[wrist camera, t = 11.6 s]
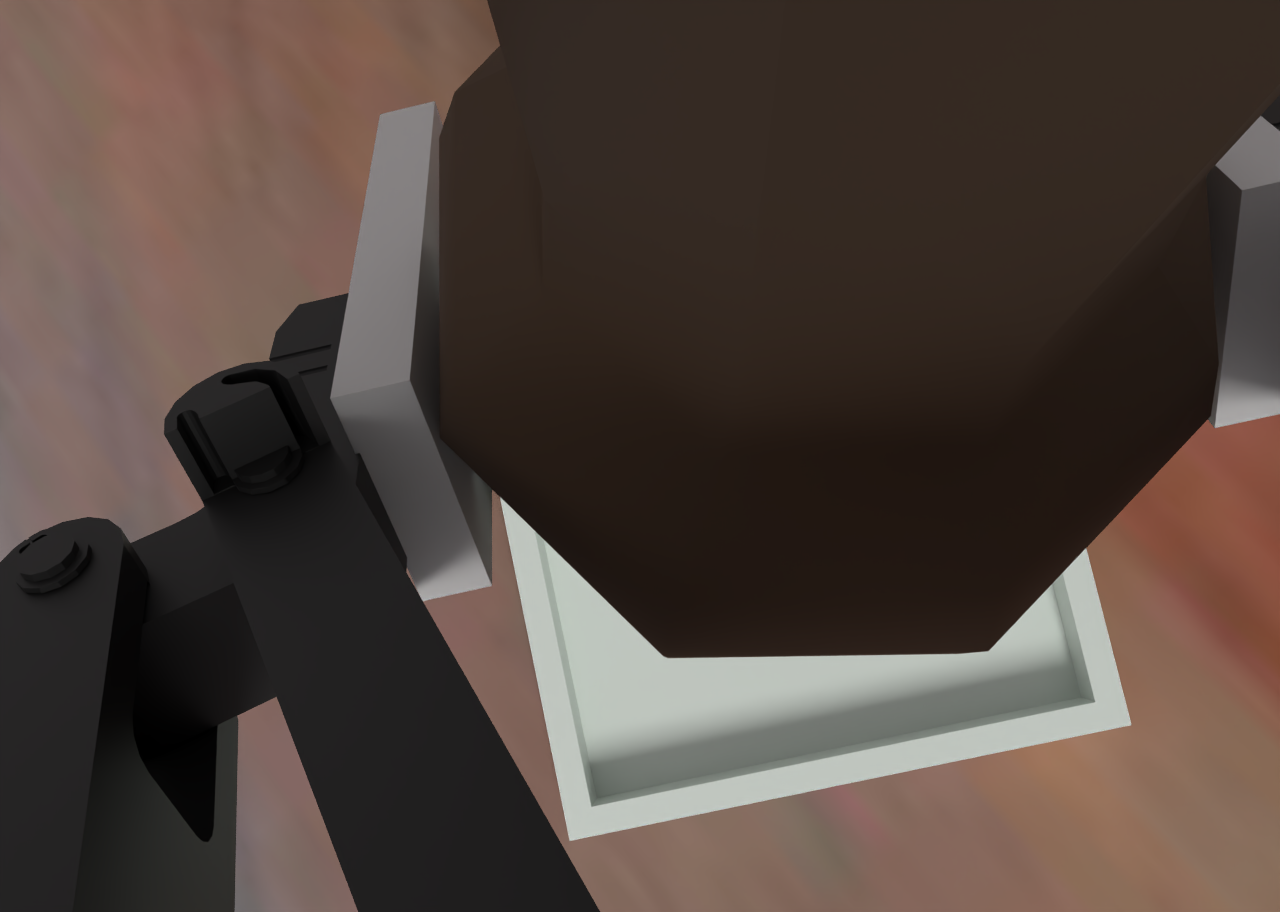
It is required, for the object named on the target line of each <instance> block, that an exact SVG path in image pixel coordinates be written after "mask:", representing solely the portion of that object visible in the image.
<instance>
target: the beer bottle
mask: <svg viewBox="0 0 1280 912" xmlns="http://www.w3.org/2000/svg"><path fill="white" fill-rule="evenodd" d="M487 1H488V4H489V8H490V11H491V15H492V18H493V22H494V25H495V28H496V32H497V35H498V39H499V42H500V46H499V47H498V48H497V49H496V50H495V51H494V52H493V53H492V54H491V55H490V56H489V57H488V59H487V60H486V61H485V62H484V63H483V64H482V65H481V66H480V67H479V68H478V69H477V70H476V71H475V72H474V73H473V74H472V75H471V76H470V77H469V78H468V79H467V80H466V81H465V82H464V83H463V84H462V85H461V86H460V87H459V88H458V89H457V90H456V92H455V93H454V96H453V99H452V102H451V105H450V108H449V111H448V113H447V116H446V119H445V122H444V125H443V128H442V131H441V134H440V137H439V363H440V439H441V440H442V441H443V442H444V443H445V444H446V445H447V446H448V447H449V448H451V449H452V450H453V451H454V452H455V453H456V454H457V455H458V456H459V457H460V458H461V459H462V460H463V461H464V462H465V463H466V464H467V465H468V466H469V467H470V468H471V469H472V470H473V471H474V472H475V473H476V474H477V475H478V476H479V477H480V478H481V479H482V480H483V481H484V482H485V483H486V484H487V485H488V486H489V487H490V488H491V489H492V490H493V491H495V492H496V493H497V494H498V495H499V496H500V497H501V498H502V499H503V500H504V501H505V502H506V503H507V504H508V505H509V506H510V507H511V508H512V509H513V510H514V511H515V512H516V513H517V514H518V515H519V516H520V517H521V518H522V519H523V520H524V521H525V522H526V523H527V524H528V525H529V526H530V527H531V528H532V529H533V530H534V531H535V532H536V533H537V534H538V535H540V536H541V537H542V538H543V539H544V540H545V541H546V542H547V543H548V544H549V545H550V546H551V547H552V548H553V549H554V550H555V551H556V552H557V553H558V554H559V555H560V556H561V557H562V558H563V559H564V560H565V561H566V562H567V563H568V564H569V565H570V566H571V567H572V568H573V569H574V570H575V571H576V572H577V573H578V574H579V575H580V576H581V577H582V578H584V579H585V580H586V581H587V582H588V583H589V584H590V585H591V586H592V587H593V588H594V589H595V590H596V591H597V592H598V593H599V594H600V595H601V596H602V597H603V598H604V599H605V600H606V601H607V602H608V603H609V604H610V605H611V606H612V607H613V608H614V609H615V610H616V611H617V612H618V613H619V614H620V615H621V616H622V617H623V618H624V619H625V620H626V621H628V622H629V623H630V624H631V625H632V626H633V627H634V628H635V629H636V630H637V631H638V632H639V633H640V634H641V635H642V636H643V637H644V638H645V639H646V640H647V641H648V642H649V643H650V644H651V645H652V646H653V647H654V648H655V649H656V650H657V651H658V652H659V653H660V654H661V655H662V656H664V657H666V658H722V657H790V656H857V655H925V654H964V653H975V652H986V651H989V650H990V649H991V648H992V647H993V646H994V645H995V644H996V643H997V642H998V641H999V640H1000V639H1001V638H1002V637H1003V635H1004V634H1005V633H1006V632H1007V631H1008V630H1009V629H1010V628H1011V627H1012V626H1013V625H1014V624H1015V623H1016V622H1017V621H1018V620H1019V619H1020V617H1021V616H1022V615H1023V614H1024V613H1025V612H1026V611H1027V610H1028V609H1029V608H1030V607H1031V606H1032V605H1033V604H1034V603H1035V602H1036V601H1037V599H1038V598H1039V597H1040V596H1041V595H1042V594H1043V593H1044V592H1045V591H1046V590H1047V589H1048V588H1049V587H1050V586H1051V585H1052V584H1053V583H1054V581H1055V580H1056V579H1057V578H1058V577H1059V576H1060V575H1061V574H1062V573H1063V572H1064V571H1065V570H1066V569H1067V568H1068V567H1069V566H1070V565H1071V563H1072V562H1073V561H1074V560H1075V559H1076V558H1077V557H1078V556H1079V555H1080V554H1081V553H1082V552H1083V551H1084V550H1085V549H1086V548H1087V547H1088V545H1089V544H1090V543H1091V542H1092V541H1093V540H1094V539H1095V538H1096V537H1097V536H1098V535H1099V534H1100V533H1101V532H1102V531H1103V530H1104V529H1105V527H1106V526H1107V525H1108V524H1109V523H1110V522H1111V521H1112V520H1113V519H1114V518H1115V517H1116V516H1117V515H1118V514H1119V513H1120V512H1121V511H1122V509H1123V508H1124V507H1125V506H1126V505H1127V504H1128V503H1129V502H1130V501H1131V500H1132V499H1133V498H1134V497H1135V496H1136V495H1137V494H1138V493H1139V491H1140V490H1141V489H1142V488H1143V487H1144V486H1145V485H1146V484H1147V483H1148V482H1149V481H1150V480H1151V479H1152V478H1153V477H1154V476H1155V475H1156V473H1157V472H1158V471H1159V470H1160V469H1161V468H1162V467H1163V466H1164V465H1165V464H1166V463H1167V462H1168V461H1169V460H1170V459H1171V458H1172V457H1173V455H1174V454H1175V453H1176V452H1177V451H1178V450H1179V449H1180V448H1181V447H1182V446H1183V445H1184V444H1185V443H1186V442H1187V441H1188V440H1189V439H1190V437H1191V436H1192V435H1193V434H1194V433H1195V432H1196V431H1197V430H1198V429H1199V428H1200V427H1201V426H1202V425H1203V424H1204V423H1205V422H1206V421H1207V419H1208V418H1209V417H1210V416H1211V411H1212V405H1213V398H1214V392H1215V385H1216V379H1217V372H1218V366H1219V358H1218V344H1217V329H1216V315H1215V300H1214V286H1213V271H1212V257H1211V242H1210V227H1209V213H1208V198H1207V184H1206V176H1207V174H1208V172H1209V171H1210V170H1211V169H1212V168H1213V167H1214V166H1215V165H1216V164H1217V163H1218V161H1219V160H1220V159H1221V158H1222V157H1223V156H1224V155H1225V154H1226V153H1227V152H1228V151H1229V150H1230V148H1231V147H1232V146H1233V145H1234V144H1235V143H1236V142H1237V141H1238V140H1239V139H1240V138H1241V137H1242V135H1243V134H1244V133H1245V132H1246V131H1247V130H1248V129H1249V128H1250V127H1251V126H1252V125H1253V124H1254V122H1255V121H1256V120H1257V119H1258V118H1259V117H1260V116H1261V115H1262V114H1263V113H1264V112H1265V110H1266V109H1267V108H1268V107H1269V106H1270V105H1271V104H1272V103H1273V102H1274V101H1275V100H1276V99H1277V97H1278V96H1279V95H1280V0H487Z"/></svg>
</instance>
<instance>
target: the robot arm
mask: <svg viewBox="0 0 1280 912" xmlns="http://www.w3.org/2000/svg"><path fill="white" fill-rule="evenodd" d="M442 128H443V125H442V122H441V119H440V116H439V113H438V109H437V106H436V103H435V101H434V102H429V103H425V104H421V105H417V106H413V107H409V108H404V109H400V110H396V111H392V112H388V113H384V114H380V118H379V124H378V129H377V135H376V141H375V146H374V152H373V158H372V163H371V169H370V175H369V180H368V186H367V192H366V197H365V203H364V209H363V214H362V220H361V226H360V232H359V237H358V243H357V249H356V254H355V260H354V266H353V271H352V277H351V283H350V288H349V293H347V294H343V295H339V296H335V297H330V298H326V299H322V300H317V301H313V302H309V303H304V304H300V305H298V306H297V307H296V309H295V310H294V311H293V312H292V313H291V315H290V316H289V317H288V318H287V319H286V321H285V322H284V323H283V324H282V325H281V327H280V328H279V329H278V330H277V331H276V334H275V338H274V342H273V346H272V350H271V354H270V358H269V359H270V361H263V362H255V363H246V364H242V365H239V366H236V367H233V368H230V369H227V370H224V371H221V372H218V373H216V374H214V375H213V376H211V377H209V378H207V379H205V380H204V381H202V382H200V383H198V384H196V385H195V386H193V387H192V388H191V389H190V390H189V391H188V392H186V393H185V394H184V395H183V396H182V397H181V398H179V399H178V400H177V401H176V402H175V403H174V405H173V407H172V408H171V410H170V411H169V413H168V415H167V416H166V418H165V424H164V435H165V437H166V438H167V440H168V442H169V444H170V445H171V447H172V449H173V451H174V452H175V454H176V456H177V458H178V459H179V461H180V463H181V465H182V466H183V468H184V470H185V471H186V473H187V475H188V477H189V478H190V480H191V482H192V484H193V485H194V487H195V489H196V491H197V492H198V494H199V496H200V497H201V499H202V501H203V504H204V506H205V507H204V508H202V509H201V510H199V511H198V512H196V513H195V514H193V515H191V516H189V517H187V518H185V519H183V520H181V521H179V522H177V523H175V524H173V525H171V526H169V527H166V528H164V529H162V530H160V531H157V532H155V533H153V534H150V535H148V536H146V537H144V538H141V539H139V540H137V541H135V542H132V543H130V542H129V541H128V539H127V538H126V536H125V534H124V533H123V531H122V530H121V528H119V527H118V526H117V525H115V524H114V523H112V522H111V521H110V520H108V519H101V518H92V517H86V518H81V519H76V520H71V521H66V522H62V523H60V524H57V525H55V526H53V527H50V528H48V529H45V530H42V531H39V532H38V533H36V534H34V535H32V536H31V537H29V539H28V540H24V541H23V542H22V543H20V544H19V545H18V546H16V547H15V548H14V549H13V550H12V551H11V552H10V553H9V554H8V555H7V556H6V557H5V558H4V559H3V560H2V561H1V562H0V912H234V908H235V857H236V806H237V755H238V718H237V715H239V714H241V713H244V712H246V711H248V710H250V709H252V708H254V707H256V706H258V705H260V704H262V703H264V702H266V701H268V700H270V699H273V698H275V697H277V699H278V701H279V704H280V707H281V709H282V712H283V715H284V717H285V720H286V722H287V725H288V728H289V730H290V733H291V736H292V738H293V741H294V743H295V746H296V749H297V751H298V754H299V757H300V759H301V762H302V765H303V767H304V770H305V772H306V775H307V778H308V780H309V783H310V786H311V788H312V791H313V794H314V796H315V799H316V801H317V804H318V807H319V809H320V812H321V815H322V817H323V820H324V823H325V825H326V828H327V830H328V833H329V836H330V838H331V841H332V844H333V846H334V849H335V852H336V854H337V857H338V859H339V862H340V865H341V867H342V870H343V873H344V875H345V878H346V881H347V883H348V886H349V888H350V891H351V894H352V896H353V899H354V902H355V904H356V907H357V910H358V912H600V911H599V909H598V907H597V906H596V904H595V902H594V900H593V899H592V897H591V895H590V893H589V892H588V890H587V888H586V886H585V885H584V883H583V881H582V879H581V878H580V876H579V874H578V872H577V871H576V869H575V867H574V865H573V864H572V862H571V860H570V858H569V857H568V855H567V853H566V851H565V850H564V848H563V846H562V844H561V843H560V841H559V839H558V837H557V836H556V834H555V832H554V830H553V829H552V827H551V825H550V823H549V822H548V820H547V818H546V816H545V815H544V813H543V811H542V809H541V808H540V806H539V804H538V802H537V801H536V799H535V797H534V795H533V794H532V792H531V790H530V788H529V787H528V785H527V783H526V781H525V780H524V778H523V776H522V774H521V773H520V771H519V769H518V767H517V766H516V764H515V762H514V760H513V759H512V757H511V755H510V753H509V752H508V750H507V748H506V746H505V745H504V743H503V741H502V739H501V738H500V736H499V734H498V732H497V731H496V729H495V727H494V725H493V724H492V722H491V720H490V718H489V717H488V715H487V713H486V711H485V710H484V708H483V706H482V704H481V703H480V701H479V699H478V697H477V696H476V694H475V692H474V690H473V689H472V687H471V685H470V683H469V682H468V680H467V678H466V676H465V675H464V673H463V671H462V669H461V668H460V666H459V664H458V662H457V661H456V659H455V657H454V655H453V654H452V652H451V650H450V648H449V647H448V645H447V643H446V641H445V640H444V638H443V636H442V634H441V633H440V631H439V629H438V627H437V626H436V624H435V622H434V620H433V619H432V617H431V615H430V613H429V612H428V610H427V608H426V606H425V605H424V603H423V601H425V600H430V599H434V598H439V597H443V596H448V595H452V594H457V593H462V592H466V591H471V590H475V589H480V588H484V587H489V586H492V489H491V488H490V487H489V486H488V485H487V484H486V483H485V482H484V481H483V480H482V479H481V478H480V477H479V476H478V475H477V474H476V473H475V472H474V471H473V470H472V469H471V468H470V467H469V466H468V465H467V464H466V463H465V462H464V461H463V460H462V459H461V458H460V457H459V456H458V455H457V454H456V453H455V452H454V451H453V450H452V449H451V448H449V447H448V446H447V445H446V444H445V443H444V442H443V441H442V440H441V439H440V363H439V137H440V134H441V131H442ZM1206 184H1207V198H1208V213H1209V227H1210V242H1211V257H1212V271H1213V286H1214V300H1215V315H1216V329H1217V344H1218V358H1219V366H1218V372H1217V379H1216V385H1215V392H1214V398H1213V405H1212V411H1211V416H1210V417H1209V418H1208V420H1209V421H1210V423H1211V424H1212V425H1213V427H1214V428H1217V427H1222V426H1226V425H1231V424H1236V423H1240V422H1245V421H1249V420H1254V419H1259V418H1263V417H1268V416H1272V415H1277V414H1280V95H1279V96H1278V97H1277V99H1276V100H1275V101H1274V102H1273V103H1272V104H1271V105H1270V106H1269V107H1268V108H1267V109H1266V110H1265V112H1264V113H1263V114H1262V115H1261V116H1260V117H1259V118H1258V119H1257V120H1256V121H1255V122H1254V124H1253V125H1252V126H1251V127H1250V128H1249V129H1248V130H1247V131H1246V132H1245V133H1244V134H1243V135H1242V137H1241V138H1240V139H1239V140H1238V141H1237V142H1236V143H1235V144H1234V145H1233V146H1232V147H1231V148H1230V150H1229V151H1228V152H1227V153H1226V154H1225V155H1224V156H1223V157H1222V158H1221V159H1220V160H1219V161H1218V163H1217V164H1216V165H1215V166H1214V167H1213V168H1212V169H1211V170H1210V171H1209V172H1208V174H1207V176H1206ZM406 568H408V570H409V572H410V575H411V577H412V579H413V581H414V583H415V586H416V588H417V590H418V592H419V594H420V596H419V594H418V592H417V591H416V589H415V587H414V585H413V584H412V582H411V580H410V578H409V577H408V575H407V573H406ZM420 597H421V598H420Z"/></svg>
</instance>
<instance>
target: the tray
mask: <svg viewBox="0 0 1280 912" xmlns="http://www.w3.org/2000/svg"><path fill="white" fill-rule="evenodd" d="M500 499H501V504H502V509H503V514H504V519H505V524H506V529H507V534H508V539H509V544H510V549H511V554H512V558H513V563H514V568H515V573H516V578H517V583H518V588H519V593H520V598H521V603H522V608H523V613H524V618H525V623H526V627H527V632H528V637H529V642H530V647H531V652H532V657H533V662H534V667H535V672H536V677H537V682H538V687H539V691H540V696H541V701H542V706H543V711H544V716H545V721H546V726H547V731H548V736H549V741H550V746H551V751H552V756H553V760H554V765H555V770H556V775H557V780H558V785H559V790H560V795H561V800H562V805H563V810H564V815H565V820H566V825H567V829H568V834H569V839H570V841H571V840H576V839H581V838H586V837H591V836H596V835H600V834H605V833H610V832H615V831H620V830H625V829H630V828H634V827H639V826H644V825H649V824H654V823H659V822H663V821H668V820H673V819H678V818H683V817H688V816H693V815H697V814H702V813H707V812H712V811H717V810H722V809H727V808H731V807H736V806H741V805H746V804H751V803H756V802H760V801H765V800H770V799H775V798H780V797H785V796H790V795H794V794H799V793H804V792H809V791H814V790H819V789H824V788H828V787H833V786H838V785H843V784H848V783H853V782H857V781H862V780H867V779H872V778H877V777H882V776H887V775H891V774H896V773H901V772H906V771H911V770H916V769H920V768H925V767H930V766H935V765H940V764H945V763H950V762H954V761H959V760H964V759H969V758H974V757H979V756H984V755H988V754H993V753H998V752H1003V751H1008V750H1013V749H1017V748H1022V747H1027V746H1032V745H1037V744H1042V743H1047V742H1051V741H1056V740H1061V739H1066V738H1071V737H1076V736H1081V735H1085V734H1090V733H1095V732H1100V731H1105V730H1110V729H1114V728H1119V727H1124V726H1129V725H1131V721H1130V717H1129V713H1128V710H1127V706H1126V702H1125V698H1124V694H1123V690H1122V686H1121V682H1120V678H1119V674H1118V671H1117V667H1116V663H1115V659H1114V655H1113V651H1112V647H1111V643H1110V639H1109V635H1108V632H1107V628H1106V624H1105V620H1104V616H1103V612H1102V608H1101V604H1100V600H1099V596H1098V593H1097V589H1096V585H1095V581H1094V577H1093V573H1092V569H1091V565H1090V561H1089V557H1088V554H1087V550H1086V549H1085V550H1084V551H1083V552H1082V553H1081V554H1080V555H1079V556H1078V557H1077V558H1076V559H1075V560H1074V561H1073V562H1072V563H1071V565H1070V566H1069V567H1068V568H1067V569H1066V570H1065V571H1064V572H1063V573H1062V574H1061V575H1060V576H1059V577H1058V578H1057V579H1056V580H1055V581H1054V583H1053V584H1052V585H1051V586H1050V587H1049V588H1048V589H1047V590H1046V591H1045V592H1044V593H1043V594H1042V595H1041V596H1040V597H1039V598H1038V599H1037V601H1036V602H1035V603H1034V604H1033V605H1032V606H1031V607H1030V608H1029V609H1028V610H1027V611H1026V612H1025V613H1024V614H1023V615H1022V616H1021V617H1020V619H1019V620H1018V621H1017V622H1016V623H1015V624H1014V625H1013V626H1012V627H1011V628H1010V629H1009V630H1008V631H1007V632H1006V633H1005V634H1004V635H1003V637H1002V638H1001V639H1000V640H999V641H998V642H997V643H996V644H995V645H994V646H993V647H992V648H991V649H990V650H989V651H986V652H975V653H964V654H925V655H857V656H790V657H722V658H666V657H664V656H662V655H661V654H660V653H659V652H658V651H657V650H656V649H655V648H654V647H653V646H652V645H651V644H650V643H649V642H648V641H647V640H646V639H645V638H644V637H643V636H642V635H641V634H640V633H639V632H638V631H637V630H636V629H635V628H634V627H633V626H632V625H631V624H630V623H629V622H628V621H626V620H625V619H624V618H623V617H622V616H621V615H620V614H619V613H618V612H617V611H616V610H615V609H614V608H613V607H612V606H611V605H610V604H609V603H608V602H607V601H606V600H605V599H604V598H603V597H602V596H601V595H600V594H599V593H598V592H597V591H596V590H595V589H594V588H593V587H592V586H591V585H590V584H589V583H588V582H587V581H586V580H585V579H584V578H582V577H581V576H580V575H579V574H578V573H577V572H576V571H575V570H574V569H573V568H572V567H571V566H570V565H569V564H568V563H567V562H566V561H565V560H564V559H563V558H562V557H561V556H560V555H559V554H558V553H557V552H556V551H555V550H554V549H553V548H552V547H551V546H550V545H549V544H548V543H547V542H546V541H545V540H544V539H543V538H542V537H541V536H540V535H538V534H537V533H536V532H535V531H534V530H533V529H532V528H531V527H530V526H529V525H528V524H527V523H526V522H525V521H524V520H523V519H522V518H521V517H520V516H519V515H518V514H517V513H516V512H515V511H514V510H513V509H512V508H511V507H510V506H509V505H508V504H507V503H506V502H505V501H504V500H503V499H502V498H501V497H500Z"/></svg>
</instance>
